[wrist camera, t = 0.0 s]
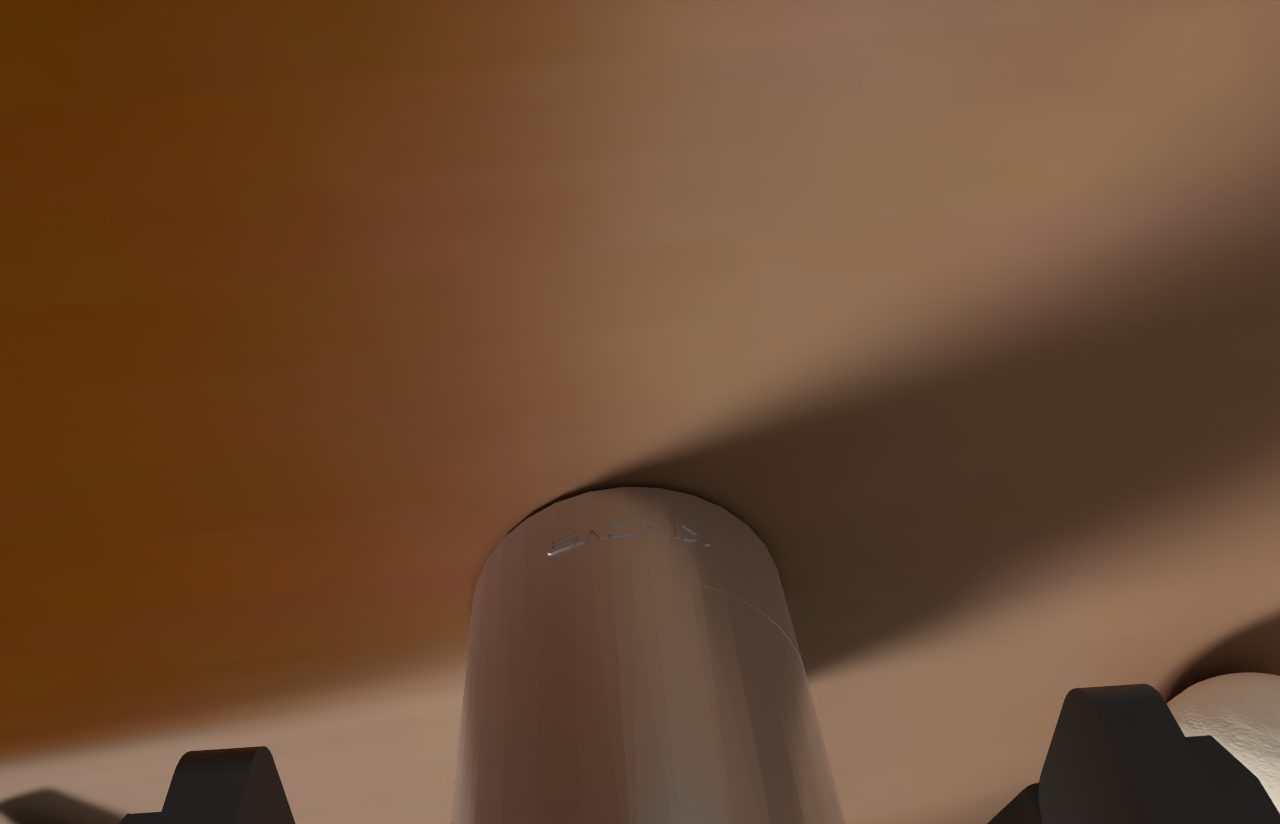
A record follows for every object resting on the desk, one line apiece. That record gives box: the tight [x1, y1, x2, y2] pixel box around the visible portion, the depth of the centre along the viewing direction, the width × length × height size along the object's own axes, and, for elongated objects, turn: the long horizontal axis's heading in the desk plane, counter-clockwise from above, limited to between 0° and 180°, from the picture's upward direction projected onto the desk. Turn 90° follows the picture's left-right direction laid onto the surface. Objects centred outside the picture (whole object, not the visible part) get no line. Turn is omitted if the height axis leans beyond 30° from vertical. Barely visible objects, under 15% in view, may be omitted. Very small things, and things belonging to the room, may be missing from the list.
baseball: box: [1167, 672, 1280, 813], centre depth 34 cm, size 7×7×7 cm
